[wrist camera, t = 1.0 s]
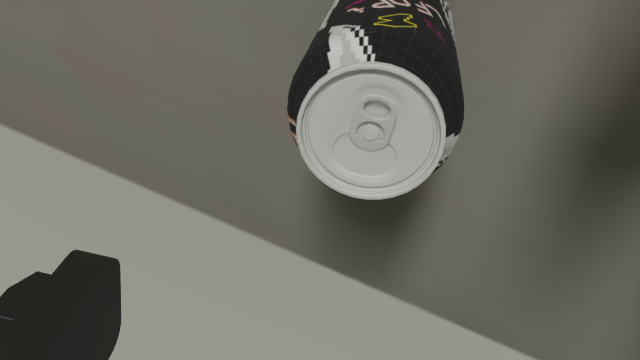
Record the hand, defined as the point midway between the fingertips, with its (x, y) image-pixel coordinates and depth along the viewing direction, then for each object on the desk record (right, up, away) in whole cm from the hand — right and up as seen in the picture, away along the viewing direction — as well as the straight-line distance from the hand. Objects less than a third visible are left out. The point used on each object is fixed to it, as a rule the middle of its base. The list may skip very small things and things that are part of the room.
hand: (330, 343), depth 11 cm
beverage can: (+3, +10, +18) cm, 21 cm away
